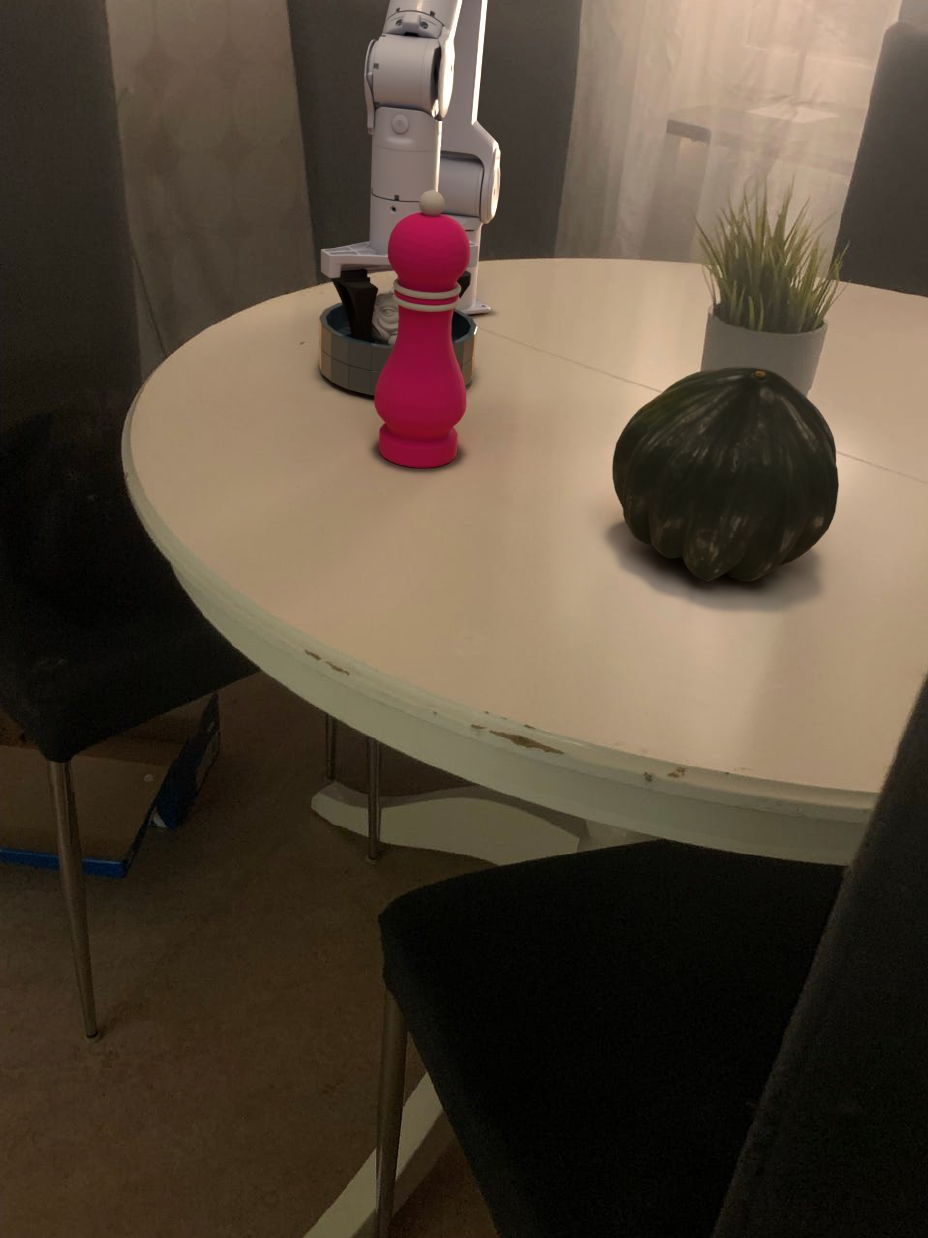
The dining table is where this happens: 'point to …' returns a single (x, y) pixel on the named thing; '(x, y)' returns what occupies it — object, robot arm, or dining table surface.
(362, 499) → the dining table surface
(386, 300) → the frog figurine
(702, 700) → the dining table surface
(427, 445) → the pepper mill
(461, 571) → the dining table surface
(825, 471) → the squash
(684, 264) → the dining table surface
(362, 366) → the bowl
